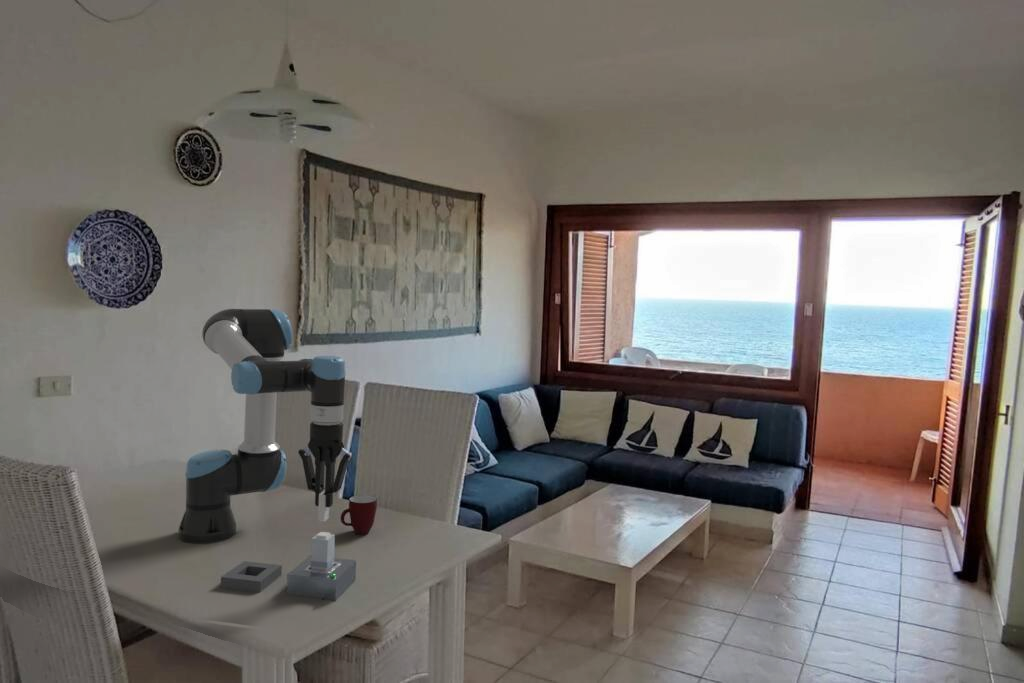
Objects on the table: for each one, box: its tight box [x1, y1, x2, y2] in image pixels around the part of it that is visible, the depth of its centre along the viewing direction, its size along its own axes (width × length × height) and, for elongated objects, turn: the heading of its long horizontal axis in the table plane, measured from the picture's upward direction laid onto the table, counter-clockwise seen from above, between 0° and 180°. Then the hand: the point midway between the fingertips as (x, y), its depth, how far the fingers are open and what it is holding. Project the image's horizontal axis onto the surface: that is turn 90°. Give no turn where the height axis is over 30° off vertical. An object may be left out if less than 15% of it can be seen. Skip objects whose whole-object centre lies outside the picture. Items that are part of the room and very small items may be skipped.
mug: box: [340, 494, 378, 535], centre depth 203 cm, size 10×8×10 cm
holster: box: [220, 560, 283, 593], centre depth 165 cm, size 10×10×3 cm
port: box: [286, 555, 357, 602], centre depth 164 cm, size 12×12×6 cm
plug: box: [310, 531, 336, 572], centre depth 164 cm, size 4×4×13 cm
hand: (323, 519), depth 164 cm, fingers closed
